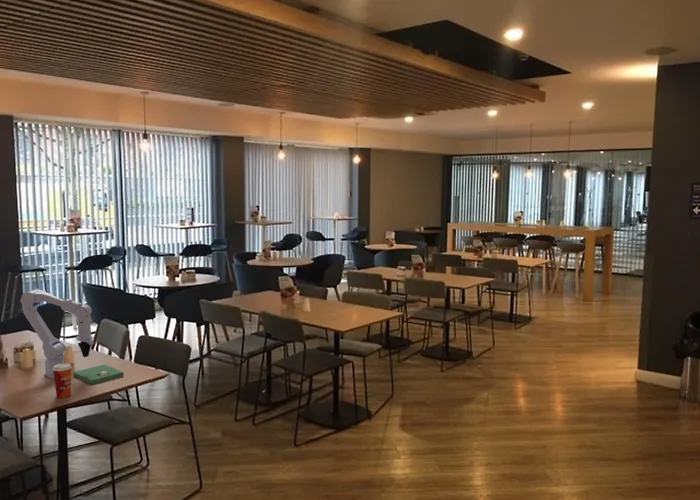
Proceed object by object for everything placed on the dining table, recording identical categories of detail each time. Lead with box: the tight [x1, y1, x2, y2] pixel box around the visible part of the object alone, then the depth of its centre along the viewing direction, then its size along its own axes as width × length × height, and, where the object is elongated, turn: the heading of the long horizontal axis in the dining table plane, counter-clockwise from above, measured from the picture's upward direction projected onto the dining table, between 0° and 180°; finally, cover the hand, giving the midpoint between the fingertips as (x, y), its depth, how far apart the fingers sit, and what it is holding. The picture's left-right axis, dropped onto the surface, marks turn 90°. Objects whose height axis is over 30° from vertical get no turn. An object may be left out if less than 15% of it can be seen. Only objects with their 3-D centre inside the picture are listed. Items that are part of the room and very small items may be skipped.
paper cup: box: [52, 362, 73, 399], centre depth 258 cm, size 8×8×14 cm
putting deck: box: [72, 364, 124, 385], centre depth 286 cm, size 19×16×2 cm
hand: (85, 356), depth 286 cm, fingers closed
